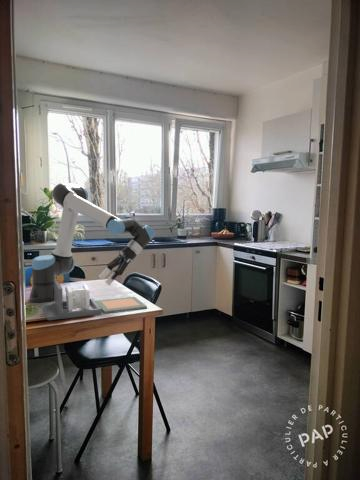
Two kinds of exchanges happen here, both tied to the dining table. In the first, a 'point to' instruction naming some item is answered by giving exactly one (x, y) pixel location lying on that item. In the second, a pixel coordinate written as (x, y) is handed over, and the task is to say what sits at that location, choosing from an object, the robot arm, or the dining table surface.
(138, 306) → the plate
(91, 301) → the grey tray holder
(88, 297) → the cable organizer
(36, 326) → the dining table surface
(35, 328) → the dining table surface
